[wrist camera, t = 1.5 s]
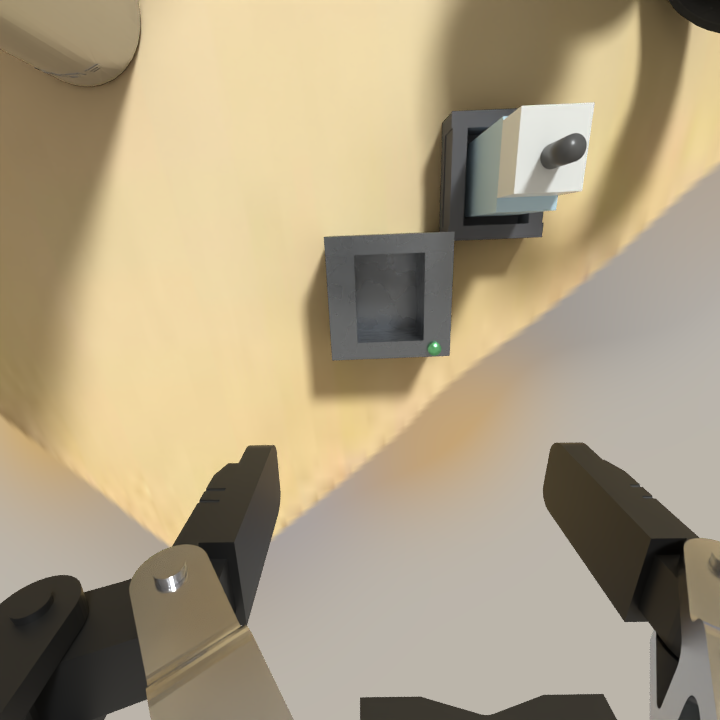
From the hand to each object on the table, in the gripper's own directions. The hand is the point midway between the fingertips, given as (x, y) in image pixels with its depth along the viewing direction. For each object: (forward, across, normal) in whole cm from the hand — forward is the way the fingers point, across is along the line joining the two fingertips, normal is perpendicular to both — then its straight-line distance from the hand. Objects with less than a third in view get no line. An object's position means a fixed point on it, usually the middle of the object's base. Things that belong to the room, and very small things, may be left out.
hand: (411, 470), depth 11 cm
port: (+23, -1, -2) cm, 23 cm away
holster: (+23, -9, -10) cm, 26 cm away
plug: (+22, -9, -10) cm, 25 cm away
